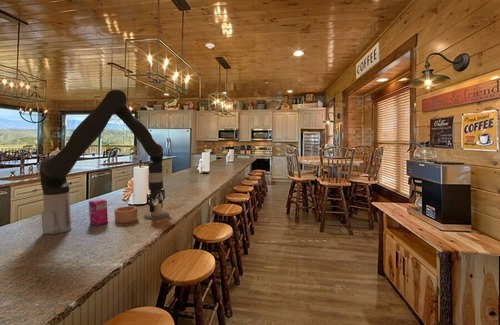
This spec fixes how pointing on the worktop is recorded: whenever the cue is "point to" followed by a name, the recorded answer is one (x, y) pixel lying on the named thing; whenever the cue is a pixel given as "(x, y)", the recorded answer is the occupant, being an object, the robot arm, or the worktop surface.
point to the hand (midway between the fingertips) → (156, 209)
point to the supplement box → (98, 212)
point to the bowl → (125, 214)
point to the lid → (156, 212)
